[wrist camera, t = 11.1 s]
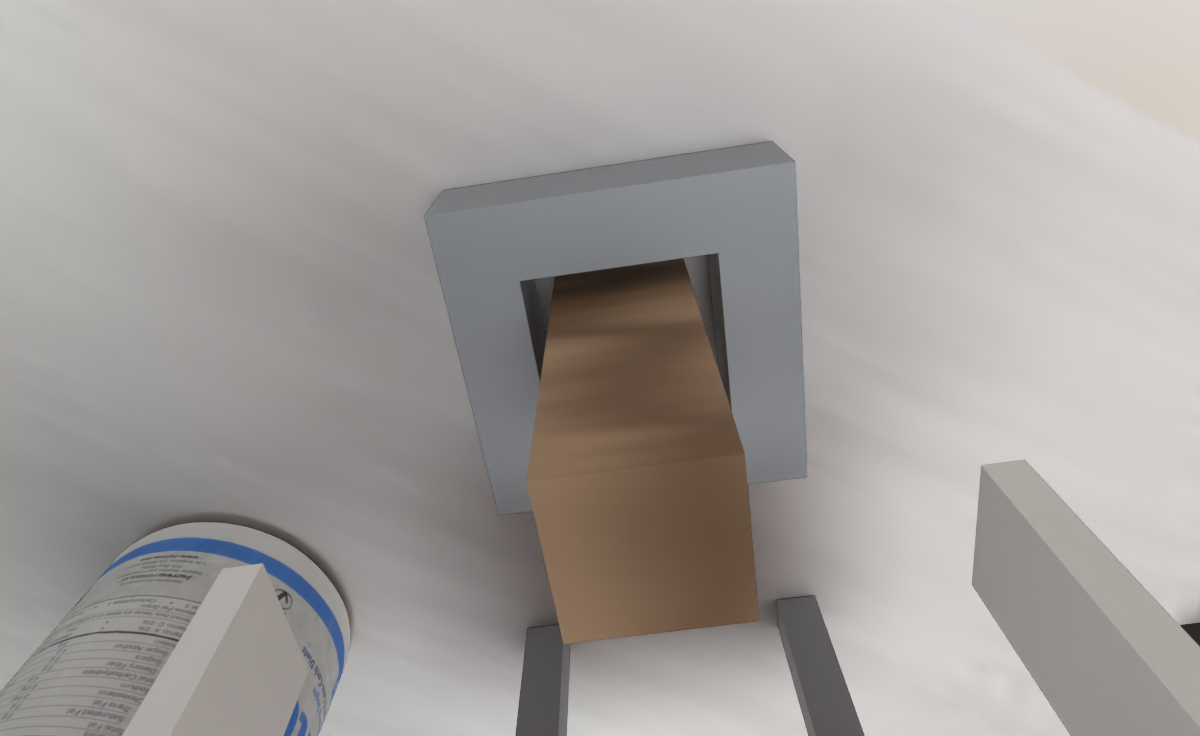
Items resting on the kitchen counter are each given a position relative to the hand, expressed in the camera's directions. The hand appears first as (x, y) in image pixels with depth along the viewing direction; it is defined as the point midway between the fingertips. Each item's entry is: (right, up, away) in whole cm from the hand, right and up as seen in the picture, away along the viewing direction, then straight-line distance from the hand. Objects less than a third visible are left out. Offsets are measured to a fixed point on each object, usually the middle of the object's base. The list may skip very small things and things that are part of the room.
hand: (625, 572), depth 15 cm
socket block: (0, +5, +11) cm, 13 cm away
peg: (0, +5, +11) cm, 13 cm away
